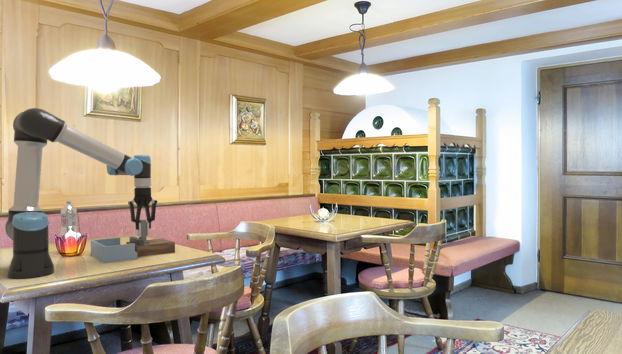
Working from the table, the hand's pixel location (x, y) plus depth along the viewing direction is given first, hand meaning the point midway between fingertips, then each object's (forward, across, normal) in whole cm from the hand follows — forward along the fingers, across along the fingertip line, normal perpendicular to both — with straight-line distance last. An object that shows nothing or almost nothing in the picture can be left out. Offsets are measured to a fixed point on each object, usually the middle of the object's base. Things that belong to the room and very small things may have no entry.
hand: (143, 236), depth 214 cm
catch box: (+8, +14, 0) cm, 16 cm away
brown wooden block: (+8, -3, 0) cm, 9 cm away
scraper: (+3, +1, 0) cm, 4 cm away
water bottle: (+8, +28, -24) cm, 38 cm away
